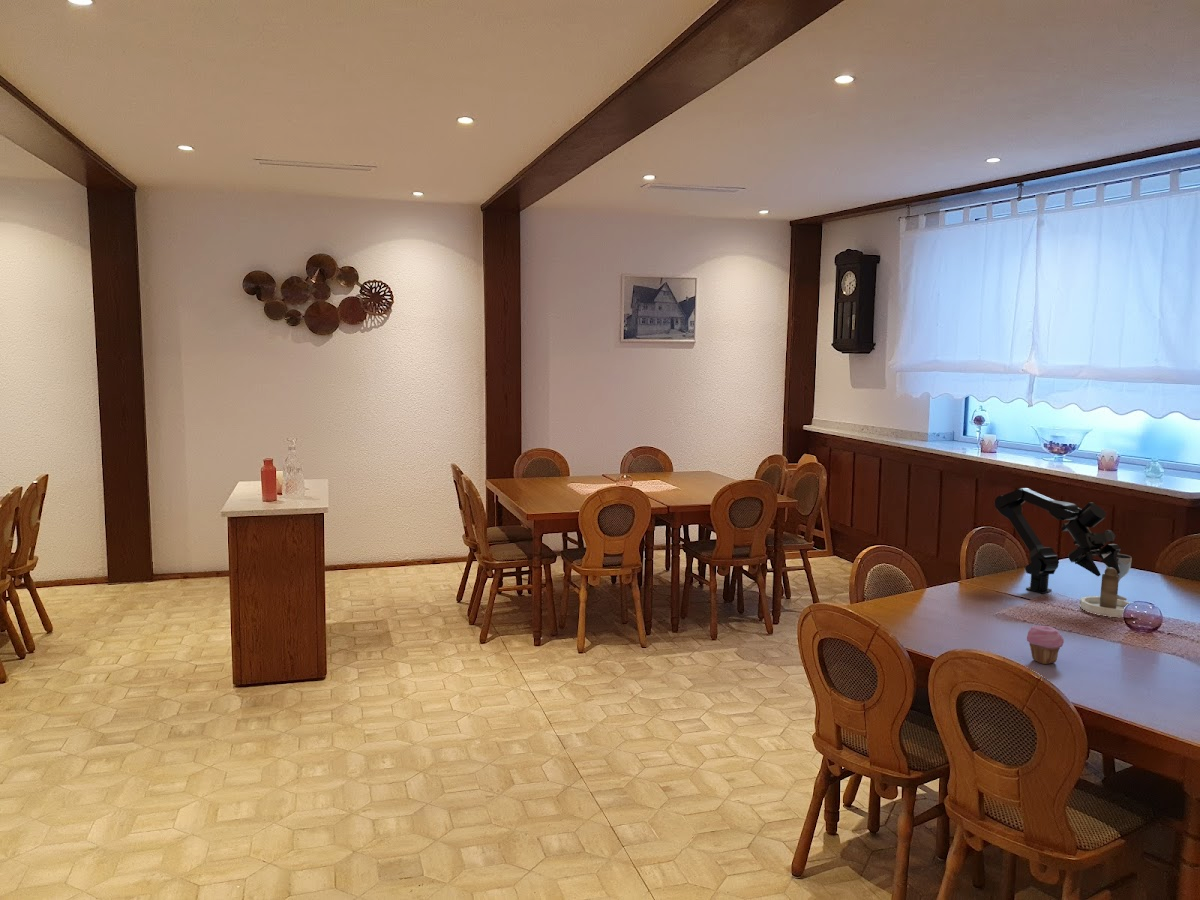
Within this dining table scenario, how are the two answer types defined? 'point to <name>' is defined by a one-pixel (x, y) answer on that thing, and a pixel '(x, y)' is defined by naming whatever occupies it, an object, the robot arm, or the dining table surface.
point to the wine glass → (1123, 568)
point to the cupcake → (1044, 643)
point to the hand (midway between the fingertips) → (1109, 574)
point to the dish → (1094, 606)
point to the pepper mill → (1109, 588)
